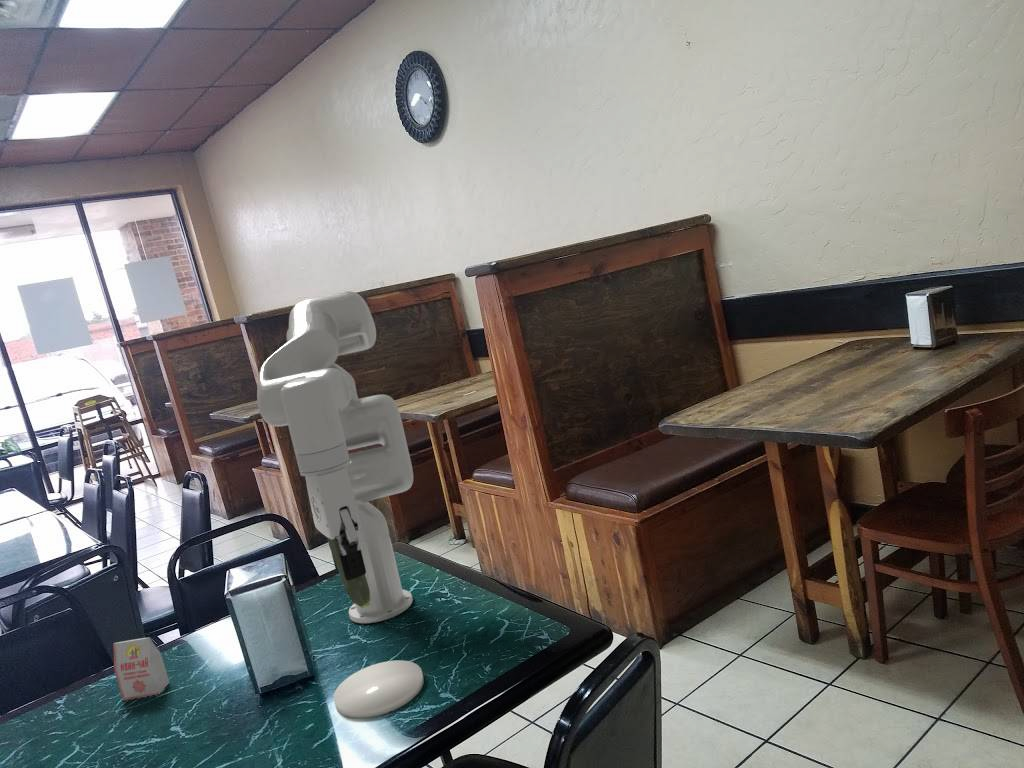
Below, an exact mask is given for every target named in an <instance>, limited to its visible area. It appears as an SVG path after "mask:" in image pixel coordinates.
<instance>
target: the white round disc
mask: <svg viewBox="0 0 1024 768" xmlns="http://www.w3.org/2000/svg"><path fill="white" fill-rule="evenodd" d="M424 684H425V680H424V675H423V671H422V668H421V667H420V666H419V665H418V664H417V663H414V662H412V661H409V660H398V659H397V660H388V661H383V662H379V663H374V664H372V665H369V666H367V667H364V668H362V669H359V670H358V671H356V672H354V673H353V674H351V675H349V676H347V678H345V679H344V680H343V681H342V682H340V684H339V685H338V686H337V687H336V690H335V691H334V695H333V702H334V705H335V709H336V711H337V712H338V713H339V714H340V715H342V716H344V717H346V718H351V719H369V718H373V717H377V716H382V715H384V714H389V713H391V712H393V711H395V710H397V709H399V708H401V707H403V706H404V705H406V704H408V703H409V702H410V701H411V700H413V699H414V698H415V697H416V696H417V695H418V694H419V693H420V691H421V690H422V688H423V686H424ZM390 711H391V712H390Z"/></svg>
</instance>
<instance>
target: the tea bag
mask: <svg viewBox="0 0 1024 768" xmlns="http://www.w3.org/2000/svg"><path fill="white" fill-rule="evenodd" d="M112 648H113V672H114V674H115V677H116V681H117V684H118V688H119V692H120V695H121V698H122V701H129V699H130V700H135V698H137V699H142V698H141V697H143V698H147V696H149V697H153V696H152V695H155V696H158V695H157V694H160V693H161V692H162V693H163V692H164V690H165V689H166V688H167V687H168V686H169V685H170V684H169V683H170V680H169V676H168V673H167V670H166V666H165V663H164V660H163V656H162V653H161V651H160V649H158V647H157V646H156V645H155V643H154V642H153V641H152V638H151V637H150V636H148V637H142V638H136V639H135V638H134V639H129V640H124V641H119V642H113V644H112ZM168 684H169V685H168ZM167 685H168V686H167ZM166 686H167V687H166ZM165 687H166V688H165ZM164 688H165V689H164ZM162 693H161V694H162ZM161 694H160V695H161Z"/></svg>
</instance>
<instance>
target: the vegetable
mask: <svg viewBox="0 0 1024 768" xmlns="http://www.w3.org/2000/svg"><path fill="white" fill-rule="evenodd" d="M342 533H345V530H344V529H343V530H340V534H342ZM326 538H327V543H328V546H329V549H330V552H332V553H331V555H332V554H333V557H334V560H335V563H336V565H337V569H338V571H339V572H338V574H339V576H340V580H341V582H342V585H343V588H344V590H345V592H346V594H347V595H348V598H349V600H350V601H351V602H352V603H353V604H357V605H358V606H360V607H361V608H363V607H365V606H369V605H370V604H369V601H370V600H371V599H370V590H369V586H368V583H367V580H366V576H365V574H364V575H362V576H359V577H357V578H354V579H351V580H346V579H345V576H344V572H343V568H342V564H341V560H340V556H339V555H342V554H341V551H340V548H339V544H338V541H337V538H336V537H335V539H333V540H332V539H329V538H328V537H326ZM342 540H343V543H344V541H345V540H347V537H345V538H342ZM333 557H332V558H333Z"/></svg>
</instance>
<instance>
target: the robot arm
mask: <svg viewBox="0 0 1024 768" xmlns="http://www.w3.org/2000/svg"><path fill="white" fill-rule="evenodd" d="M376 340H377V329H376V324H375V321H374V319H373V316H372V313H371V310H370V308H369V306H368V303H367V301H365V299H364V298H363V297H362V296H361V295H360V294H359V293H357V292H355V291H351V290H350V291H342V292H337V293H332V294H327V295H321V296H316V297H311V298H308V299H304V300H302V301H299V302H298V303H297V304H295V305H294V306H293V308H291V310H290V312H289V317H288V329H287V331H286V343H284V344H283V345H282V346H281V347H279V349H277V350H276V351H275V352H274V353H272V354H271V355H270V356H269V357H268V358H267V359H266V360H265V361H264V362H263V363H262V365H261V367H260V369H259V372H258V373H259V374H258V378H257V379H258V380H257V392H256V399H257V406H258V411H259V414H260V415H261V418H262V420H264V421H265V422H266V424H268V425H270V426H272V427H285V426H288V431H289V435H290V437H291V442H292V446H293V451H294V454H295V458H296V462H297V467H298V471H299V474H300V476H301V477H305V483H306V484H305V485H306V489H307V494H308V495H307V496H308V499H309V504H310V510H311V514H312V518H313V523H314V526H315V528H316V530H317V531H318V532H320V533H321V534H322V535H324V537H326V538H327V537H328V538H329V539H332V540H333V539H335V537H336V538H337V541H338V544H339V548H340V551H341V554H342V555H339V556H340V560H341V564H342V568H343V572H344V576H345V579H346V580H351V579H354V578H357V577H359V576H362V575H364V574H365V576H366V580H367V583H368V586H369V590H370V599H371V600H370V601H369V604H370V605H369V606H365V607H363V608H361V607H360V606H358V605H357V604H354V603H353V604H352V605H351V606H350V607H349V609H348V615H349V619H350V620H351V621H352V622H354V623H357V624H372V623H378V622H383V621H386V620H389V619H391V618H392V619H393V618H394V617H396V616H398V615H400V614H402V613H403V612H405V611H406V610H408V609H409V608H410V607H411V605H412V603H413V600H414V599H413V595H412V593H411V591H409V590H406V589H403V587H402V582H401V579H400V575H399V570H398V565H397V560H396V558H395V553H394V548H393V543H392V540H391V535H390V531H389V527H388V523H387V520H386V517H385V516H384V514H383V513H382V511H380V510H379V509H378V508H377V507H376V506H374V505H373V504H372V503H370V501H373V500H376V499H382V498H385V497H389V496H394V495H398V494H400V493H404V492H407V491H408V490H410V489H411V488H412V485H413V482H414V471H413V465H412V461H411V456H410V455H411V454H410V452H409V447H408V443H407V438H406V434H405V430H404V425H403V421H402V417H401V413H400V410H399V407H398V405H397V403H396V402H395V400H394V398H393V397H391V396H390V395H387V394H376V395H371V396H366V397H361V398H359V397H358V392H357V387H356V382H355V378H353V376H352V374H350V373H349V372H348V371H347V370H346V369H344V368H343V367H341V366H340V365H338V364H337V363H335V362H336V361H337V360H338V357H339V356H343V355H348V354H352V353H358V352H363V351H366V350H369V349H371V348H373V346H375V344H376ZM379 444H380V445H382V446H379V447H373V448H369V449H366V450H361V451H360V450H359V451H356V452H352V453H349V451H350V450H355V449H360V448H366V447H369V446H373V445H379ZM343 529H344V530H345V533H342V534H340V530H343ZM345 537H347V540H345V541H344V543H343V540H342V538H345ZM328 538H327V539H328ZM330 552H331V551H330ZM331 557H332V561H333V565H334V569H335V571H336V572H337V573H339V571H338V569H337V565H336V563H335V560H334V557H333V554H332V552H331Z"/></svg>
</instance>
